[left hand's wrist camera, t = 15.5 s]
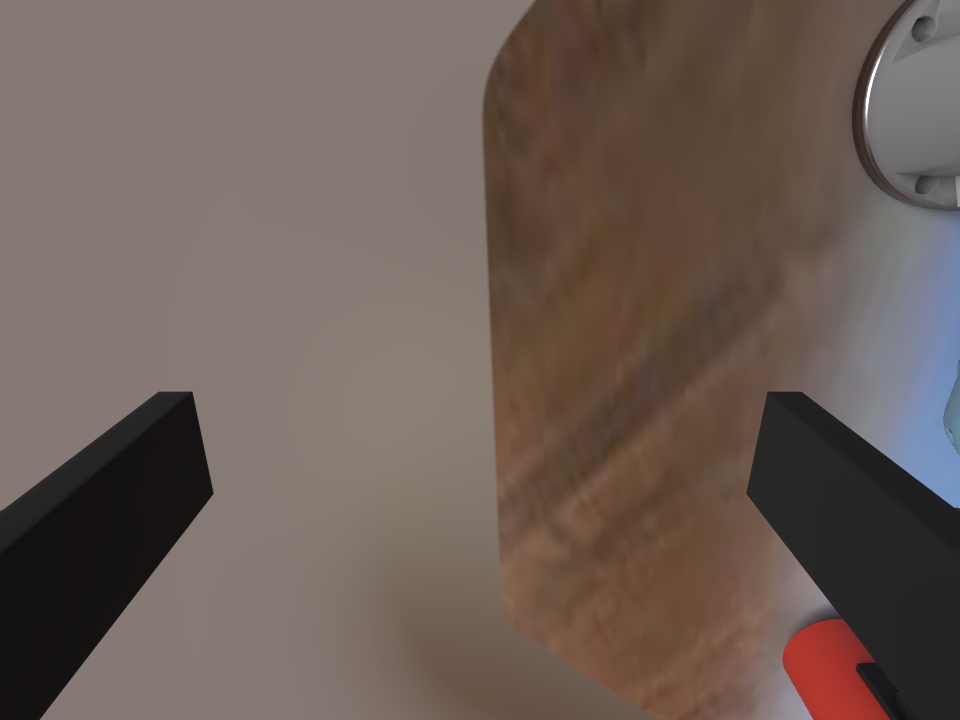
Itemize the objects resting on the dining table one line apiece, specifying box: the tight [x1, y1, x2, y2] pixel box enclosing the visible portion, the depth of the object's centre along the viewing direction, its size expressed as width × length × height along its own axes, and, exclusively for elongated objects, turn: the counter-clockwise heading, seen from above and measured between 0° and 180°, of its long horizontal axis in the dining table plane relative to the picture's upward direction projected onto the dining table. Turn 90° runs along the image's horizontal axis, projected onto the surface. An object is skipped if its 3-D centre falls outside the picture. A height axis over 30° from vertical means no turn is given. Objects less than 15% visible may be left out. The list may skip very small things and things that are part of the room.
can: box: [783, 619, 890, 720], centre depth 46 cm, size 9×9×12 cm
